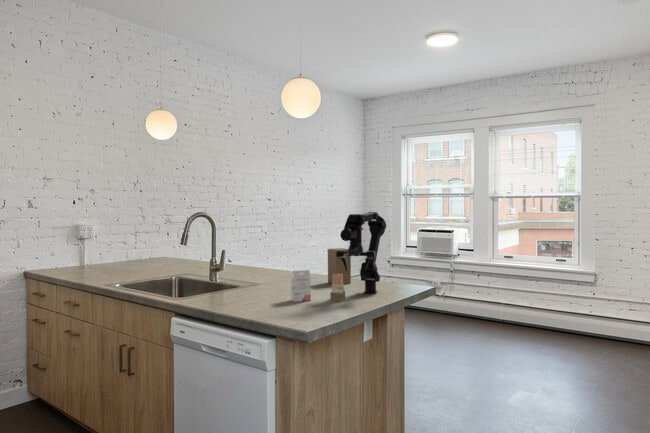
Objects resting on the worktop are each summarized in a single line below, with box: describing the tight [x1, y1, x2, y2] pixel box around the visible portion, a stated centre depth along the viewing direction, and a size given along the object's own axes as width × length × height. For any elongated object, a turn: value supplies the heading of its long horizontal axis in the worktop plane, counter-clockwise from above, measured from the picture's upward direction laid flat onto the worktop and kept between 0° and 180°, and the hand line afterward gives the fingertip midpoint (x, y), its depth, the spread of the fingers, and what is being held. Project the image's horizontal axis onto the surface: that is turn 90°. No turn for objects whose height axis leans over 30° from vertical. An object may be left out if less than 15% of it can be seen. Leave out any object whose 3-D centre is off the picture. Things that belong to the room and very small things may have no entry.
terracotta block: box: [331, 274, 343, 285], centre depth 223 cm, size 4×4×4 cm
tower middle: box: [331, 283, 345, 293], centre depth 223 cm, size 5×5×4 cm
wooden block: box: [327, 247, 352, 285], centre depth 271 cm, size 10×10×20 cm
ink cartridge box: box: [290, 269, 312, 302], centre depth 223 cm, size 9×5×15 cm, turn 105°
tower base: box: [329, 290, 346, 303], centre depth 223 cm, size 6×6×4 cm
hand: (355, 271), depth 228 cm, fingers open, 9 cm apart
